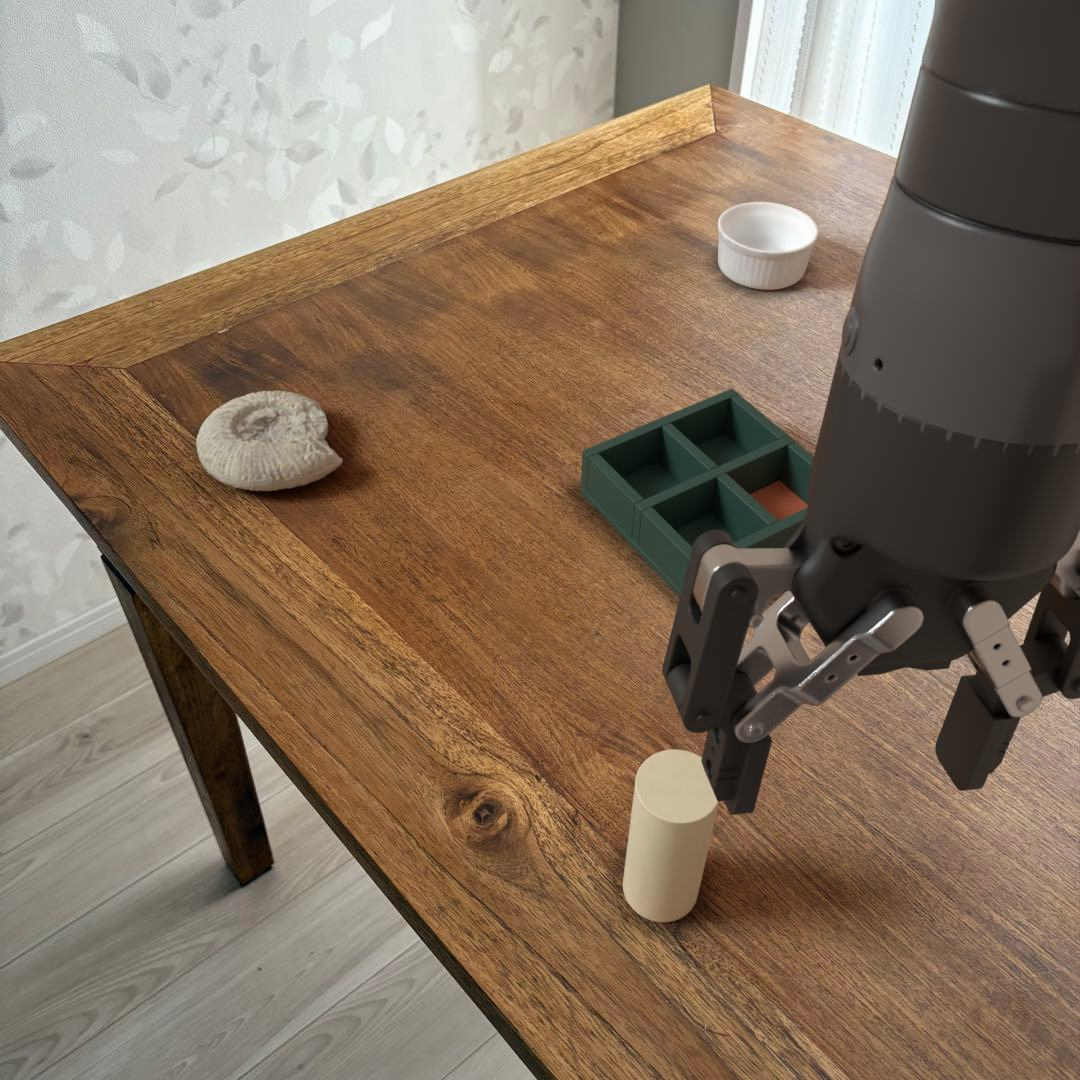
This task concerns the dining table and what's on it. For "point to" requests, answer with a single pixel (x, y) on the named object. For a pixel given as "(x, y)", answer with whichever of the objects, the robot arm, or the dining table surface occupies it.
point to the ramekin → (765, 244)
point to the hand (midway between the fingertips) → (846, 783)
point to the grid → (699, 482)
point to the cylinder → (668, 835)
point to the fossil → (267, 442)
